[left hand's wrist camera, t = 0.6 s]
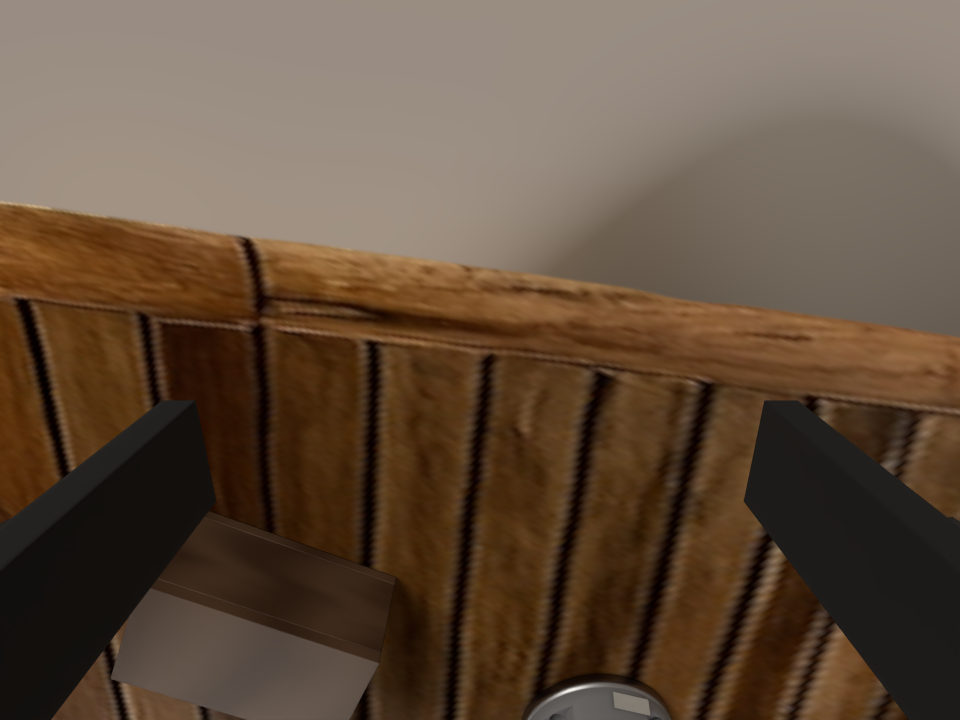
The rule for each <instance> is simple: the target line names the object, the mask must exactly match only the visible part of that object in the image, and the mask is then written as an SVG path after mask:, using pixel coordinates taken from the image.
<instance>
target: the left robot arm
mask: <svg viewBox="0 0 960 720" xmlns="http://www.w3.org/2000/svg"><path fill="white" fill-rule="evenodd" d="M215 502H216V498H215V493H214V488H213V483H212V478H211V474H210V469H209V464H208V459H207V454H206V449H205V444H204V439H203V435H202V430H201V425H200V420H199V415H198V410H197V405H196V401H161V402H160V403H159V404H157V405H156V406H155V407H154V408H152V409H151V410H150V411H148V412H147V413H146V414H145V415H143V416H142V417H141V418H139V419H138V420H137V421H136V422H134V423H133V424H132V425H131V426H129V427H128V428H127V429H125V430H124V431H123V432H122V433H120V434H119V435H118V436H116V437H115V438H114V439H113V440H111V441H110V442H109V443H107V444H106V445H105V446H104V447H102V448H101V449H100V450H99V451H97V452H96V453H95V454H93V455H92V456H91V457H90V458H88V459H87V460H86V461H84V462H83V463H82V464H81V465H79V466H78V467H77V468H76V469H74V470H73V471H72V472H70V473H69V474H68V475H67V476H65V477H64V478H63V479H61V480H60V481H59V482H58V483H56V484H55V485H54V486H52V487H51V488H50V489H49V490H47V491H46V492H45V493H44V494H42V495H41V496H40V497H38V498H37V499H36V500H35V501H33V502H32V503H31V504H29V505H28V506H27V507H26V508H24V509H23V510H22V511H20V512H19V513H18V514H17V515H15V516H14V517H13V518H12V519H8V520H6V521H4V522H2V523H0V720H51V719H52V718H53V716H54V715H55V714H56V712H57V711H58V710H59V708H60V707H61V706H62V704H63V703H64V702H65V701H66V699H67V698H68V697H69V695H70V694H71V693H72V691H73V690H74V689H75V687H76V686H77V685H78V683H79V682H80V681H81V679H82V678H83V677H84V675H85V674H86V673H87V671H88V670H89V669H90V667H91V666H92V665H93V663H94V662H95V661H96V660H97V658H98V657H99V656H100V654H101V653H102V652H103V650H104V649H105V648H106V646H107V645H108V644H109V642H110V641H111V640H112V638H113V637H114V636H115V634H116V633H117V632H118V630H119V629H120V628H121V626H122V625H123V624H124V622H125V621H126V620H127V619H128V617H129V616H130V615H131V613H132V612H133V611H134V609H135V608H136V607H137V605H138V604H139V603H140V601H141V600H142V599H143V597H144V596H145V595H146V593H147V592H148V591H149V589H150V588H151V587H152V585H153V584H154V583H155V581H156V580H157V579H158V578H159V576H160V575H161V574H162V572H163V571H164V570H165V568H166V567H167V566H168V564H169V563H170V562H171V560H172V559H173V558H174V556H175V555H176V554H177V552H178V551H179V550H180V548H181V547H182V546H183V544H184V543H185V542H186V541H187V539H188V538H189V537H190V535H191V534H192V533H193V531H194V530H195V529H196V527H197V526H198V525H199V523H200V522H201V521H202V519H203V518H204V517H205V515H206V514H207V513H208V511H209V510H210V509H211V507H212V506H213V505H214V503H215ZM744 502H745V503H746V505H747V506H748V507H749V509H750V510H751V511H752V513H753V514H754V515H755V517H756V518H757V519H758V521H759V522H760V523H761V525H762V526H763V527H764V529H765V530H766V531H767V533H768V534H769V535H770V537H771V538H772V539H773V541H774V542H775V543H776V544H777V546H778V547H779V548H780V550H781V551H782V552H783V554H784V555H785V556H786V558H787V559H788V560H789V562H790V563H791V564H792V566H793V567H794V568H795V570H796V571H797V572H798V574H799V575H800V576H801V578H802V579H803V580H804V581H805V583H806V584H807V585H808V587H809V588H810V589H811V591H812V592H813V593H814V595H815V596H816V597H817V599H818V600H819V601H820V603H821V604H822V605H823V607H824V608H825V609H826V611H827V612H828V613H829V615H830V616H831V617H832V619H833V620H834V621H835V622H836V624H837V625H838V626H839V628H840V629H841V630H842V632H843V633H844V634H845V636H846V637H847V638H848V640H849V641H850V642H851V644H852V645H853V646H854V648H855V649H856V650H857V652H858V653H859V654H860V656H861V657H862V658H863V660H864V661H865V662H866V663H867V665H868V666H869V667H870V669H871V670H872V671H873V673H874V674H875V675H876V677H877V678H878V679H879V681H880V682H881V683H882V685H883V686H884V687H885V689H886V690H887V691H888V693H889V694H890V695H891V697H892V698H893V699H894V701H895V702H896V703H897V704H898V706H899V707H900V708H901V710H902V711H903V712H904V714H905V715H906V716H907V718H908V719H909V720H960V521H958V520H957V519H955V518H953V517H946V516H945V515H943V514H942V513H941V512H940V511H938V510H937V509H936V508H934V507H933V506H932V505H931V504H929V503H928V502H927V501H925V500H924V499H923V498H922V497H920V496H919V495H918V494H916V493H915V492H914V491H913V490H911V489H910V488H909V487H908V486H906V485H905V484H904V483H902V482H901V481H900V480H899V479H897V478H896V477H895V476H893V475H892V474H891V473H890V472H888V471H887V470H886V469H884V468H883V467H882V466H881V465H879V464H878V463H877V462H876V461H874V460H873V459H872V458H870V457H869V456H868V455H867V454H865V453H864V452H863V451H861V450H860V449H859V448H858V447H856V446H855V445H854V444H853V443H851V442H850V441H849V440H847V439H846V438H845V437H844V436H842V435H841V434H840V433H838V432H837V431H836V430H835V429H833V428H832V427H831V426H829V425H828V424H827V423H826V422H824V421H823V420H822V419H821V418H819V417H818V416H817V415H815V414H814V413H813V412H812V411H810V410H809V409H808V408H806V407H805V406H804V405H803V404H801V403H800V402H799V401H764V405H763V410H762V415H761V420H760V425H759V430H758V435H757V439H756V444H755V449H754V454H753V459H752V464H751V469H750V474H749V478H748V483H747V488H746V493H745V498H744ZM522 720H671V717H670V714H669V711H668V709H667V706H666V704H665V703H664V701H663V700H662V699H661V697H660V696H659V695H658V694H657V693H656V692H654V691H653V690H652V689H651V688H649V687H648V686H646V685H644V684H642V683H640V682H638V681H635V680H633V679H629V678H626V677H621V676H615V675H605V674H601V675H586V676H580V677H575V678H572V679H568V680H565V681H563V682H560V683H558V684H556V685H553V686H552V687H550V688H548V689H546V690H545V691H544V692H542V693H541V694H540V695H538V696H537V697H536V698H535V699H534V700H533V701H532V702H531V703H530V705H529V706H528V707H527V709H526V711H525V713H524V715H523V717H522Z"/></svg>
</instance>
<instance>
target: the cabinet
mask: <svg viewBox="0 0 960 720" xmlns="http://www.w3.org/2000/svg"><path fill="white" fill-rule="evenodd" d="M395 581H396V577H394V576H391V575H388V574H385V573H382V572H379V571H377V570H374V569H371V568H368V567H365V566H363V565H360V564H357V563H354V562H351V561H348V560H346V559H343V558H340V557H337V556H334V555H331V554H329V553H326V552H323V551H320V550H317V549H315V548H312V547H309V546H306V545H303V544H300V543H298V542H295V541H292V540H289V539H286V538H284V537H281V536H278V535H275V534H272V533H269V532H267V531H264V530H261V529H258V528H255V527H253V526H250V525H247V524H244V523H241V522H238V521H236V520H233V519H230V518H227V517H224V516H222V515H219V514H216V513H213V512H210V511H208V513H207V514H206V515H205V517H204V518H203V519H202V521H201V522H200V523H199V525H198V526H197V527H196V529H195V530H194V531H193V533H192V534H191V535H190V537H189V538H188V539H187V541H186V542H185V543H184V544H183V546H182V547H181V548H180V550H179V551H178V552H177V554H176V555H175V556H174V558H173V559H172V560H171V562H170V563H169V564H168V566H167V567H166V568H165V570H164V571H163V572H162V574H161V575H160V576H159V578H158V579H157V580H156V581H155V583H154V584H153V585H152V587H151V588H150V589H149V591H148V592H147V593H146V595H145V596H144V597H143V599H142V600H141V601H140V603H139V604H138V605H137V607H136V608H135V609H134V611H133V612H132V613H131V615H130V616H129V619H128V622H127V625H126V629H125V632H124V635H123V639H122V642H121V645H120V649H119V652H118V656H117V659H116V662H115V666H114V669H113V672H112V676H111V679H113V680H116V681H120V682H123V683H126V684H130V685H133V686H136V687H140V688H143V689H146V690H150V691H153V692H156V693H160V694H163V695H166V696H170V697H173V698H176V699H180V700H183V701H186V702H190V703H193V704H196V705H200V706H203V707H206V708H210V709H213V710H216V711H220V712H223V713H226V714H230V715H233V716H236V717H240V718H243V719H246V720H349V719H350V717H351V715H352V713H353V711H354V710H355V708H356V706H357V704H358V702H359V700H360V698H361V697H362V695H363V693H364V691H365V689H366V687H367V685H368V683H369V682H370V680H371V678H372V676H373V674H374V672H375V670H376V669H377V667H378V665H379V662H380V657H381V651H382V646H383V641H384V636H385V631H386V626H387V621H388V616H389V611H390V606H391V601H392V596H393V591H394V585H395Z"/></svg>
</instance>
